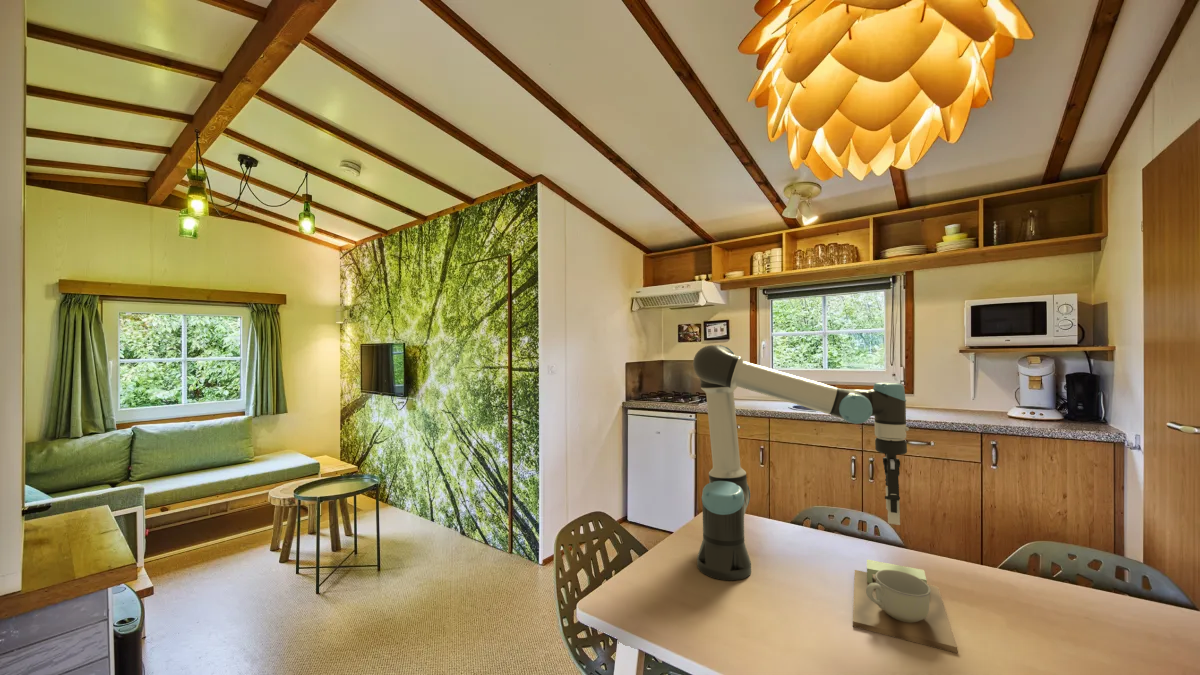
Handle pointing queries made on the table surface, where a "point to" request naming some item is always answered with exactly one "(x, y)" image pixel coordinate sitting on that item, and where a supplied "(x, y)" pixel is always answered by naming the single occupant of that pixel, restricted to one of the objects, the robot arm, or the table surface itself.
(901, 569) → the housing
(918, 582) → the teacup
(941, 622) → the board
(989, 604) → the table surface
